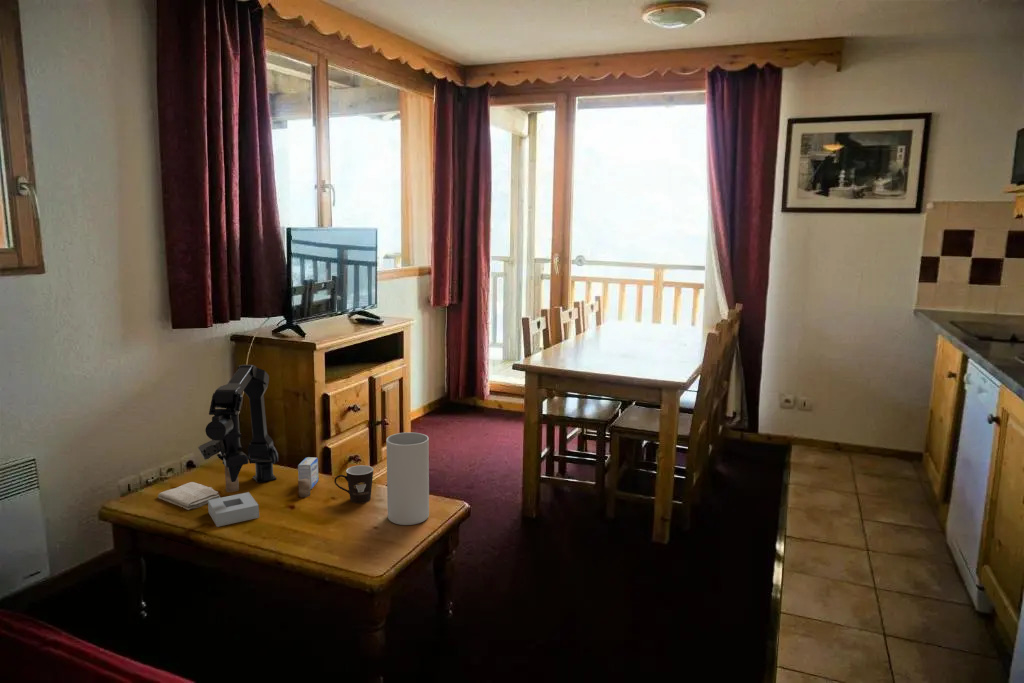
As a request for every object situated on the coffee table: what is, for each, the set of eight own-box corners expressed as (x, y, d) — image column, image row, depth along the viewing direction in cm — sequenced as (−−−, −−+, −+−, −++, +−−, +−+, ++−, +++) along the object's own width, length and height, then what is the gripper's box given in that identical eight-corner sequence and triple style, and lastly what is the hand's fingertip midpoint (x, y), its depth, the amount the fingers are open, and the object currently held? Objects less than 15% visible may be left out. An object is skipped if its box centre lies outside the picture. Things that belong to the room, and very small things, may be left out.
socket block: (208, 512, 208) (207, 500, 208) (249, 504, 215) (248, 492, 215) (216, 526, 199) (216, 513, 198) (259, 517, 205) (258, 505, 205)
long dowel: (224, 489, 206) (223, 460, 205) (237, 486, 208) (235, 458, 207) (227, 493, 203) (225, 464, 202) (240, 490, 205) (238, 462, 204)
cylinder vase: (435, 511, 212) (434, 434, 207) (419, 528, 200) (418, 447, 196) (398, 507, 215) (397, 430, 211) (380, 523, 203) (379, 442, 199)
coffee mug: (378, 495, 224) (377, 466, 222) (368, 505, 216) (367, 475, 214) (344, 492, 226) (344, 463, 224) (333, 502, 217) (332, 472, 216)
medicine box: (311, 489, 228) (310, 465, 227) (298, 489, 228) (297, 464, 227) (318, 481, 236) (318, 457, 234) (306, 480, 236) (305, 456, 234)
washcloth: (189, 512, 210) (189, 503, 209) (156, 499, 219) (155, 490, 218) (223, 499, 220) (223, 490, 219) (190, 488, 229) (189, 479, 228)
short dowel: (297, 494, 224) (296, 480, 223) (308, 492, 226) (307, 478, 225) (300, 498, 221) (300, 483, 220) (311, 495, 223) (311, 481, 222)
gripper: (194, 426, 206) (197, 475, 208) (206, 442, 191) (209, 495, 193) (232, 420, 212) (235, 468, 215) (247, 436, 197) (250, 487, 199)
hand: (231, 479), depth 205 cm, fingers closed on long dowel, 4 cm apart
